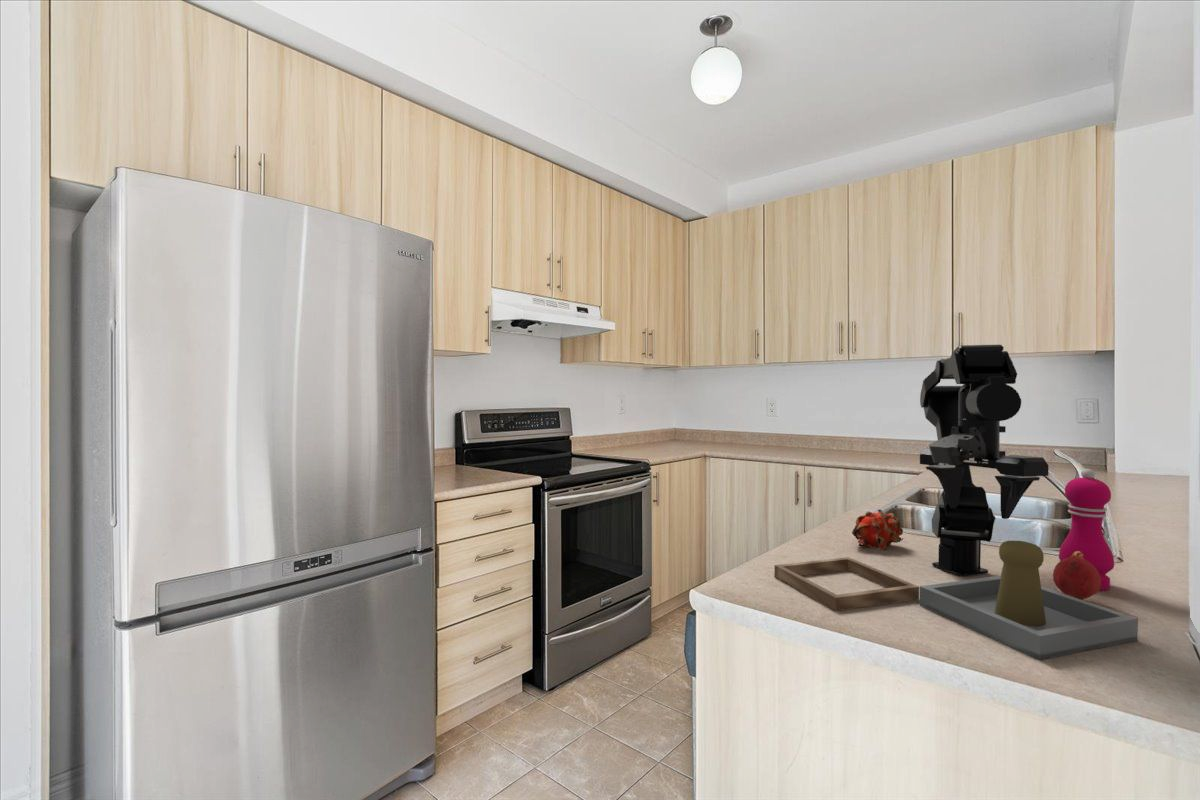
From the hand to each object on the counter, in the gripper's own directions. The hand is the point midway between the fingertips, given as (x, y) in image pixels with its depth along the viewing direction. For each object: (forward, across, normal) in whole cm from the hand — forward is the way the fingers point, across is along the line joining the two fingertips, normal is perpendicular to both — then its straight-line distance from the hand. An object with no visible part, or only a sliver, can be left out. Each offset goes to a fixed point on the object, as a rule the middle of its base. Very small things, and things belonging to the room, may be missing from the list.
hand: (978, 513), depth 93 cm
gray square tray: (+14, +11, -5) cm, 18 cm away
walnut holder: (+13, -8, -20) cm, 25 cm away
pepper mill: (+13, +3, +21) cm, 25 cm away
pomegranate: (+13, +8, +11) cm, 19 cm away
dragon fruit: (+12, -25, +3) cm, 28 cm away
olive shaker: (+13, +11, -5) cm, 18 cm away
